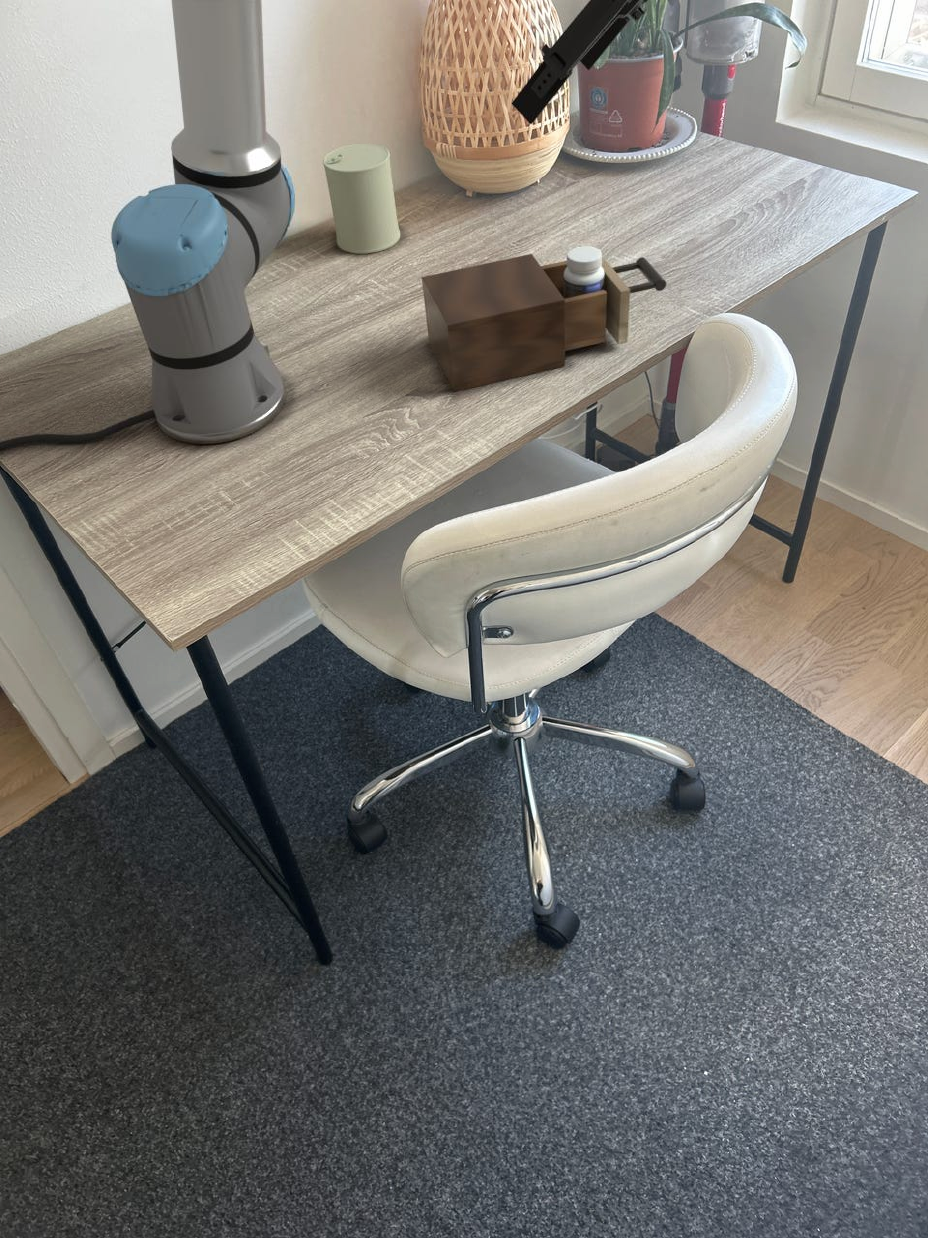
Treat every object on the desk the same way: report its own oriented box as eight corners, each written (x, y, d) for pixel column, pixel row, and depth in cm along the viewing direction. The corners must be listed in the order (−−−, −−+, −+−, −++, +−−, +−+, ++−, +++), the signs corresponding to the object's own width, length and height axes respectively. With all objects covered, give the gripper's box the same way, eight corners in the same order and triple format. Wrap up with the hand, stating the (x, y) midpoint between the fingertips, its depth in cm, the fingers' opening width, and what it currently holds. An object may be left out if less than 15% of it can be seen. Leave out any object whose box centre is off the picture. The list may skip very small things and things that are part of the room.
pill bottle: (589, 334, 115) (590, 267, 109) (555, 323, 118) (555, 257, 111) (610, 315, 118) (613, 249, 112) (577, 305, 120) (578, 240, 114)
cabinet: (533, 318, 123) (531, 253, 116) (565, 366, 115) (565, 299, 109) (429, 341, 121) (421, 276, 115) (454, 392, 113) (447, 325, 107)
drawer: (636, 291, 123) (639, 239, 118) (671, 332, 116) (675, 279, 111) (500, 321, 121) (497, 270, 116) (527, 365, 114) (525, 312, 109)
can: (330, 231, 143) (315, 147, 134) (391, 218, 145) (380, 134, 136) (344, 259, 137) (329, 172, 128) (407, 245, 138) (396, 158, 130)
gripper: (671, -13, 77) (523, 166, 94) (772, -108, 90) (626, 65, 107) (605, -91, 75) (467, 106, 93) (717, -176, 88) (579, 11, 106)
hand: (552, 85), depth 100 cm, fingers open, 13 cm apart
